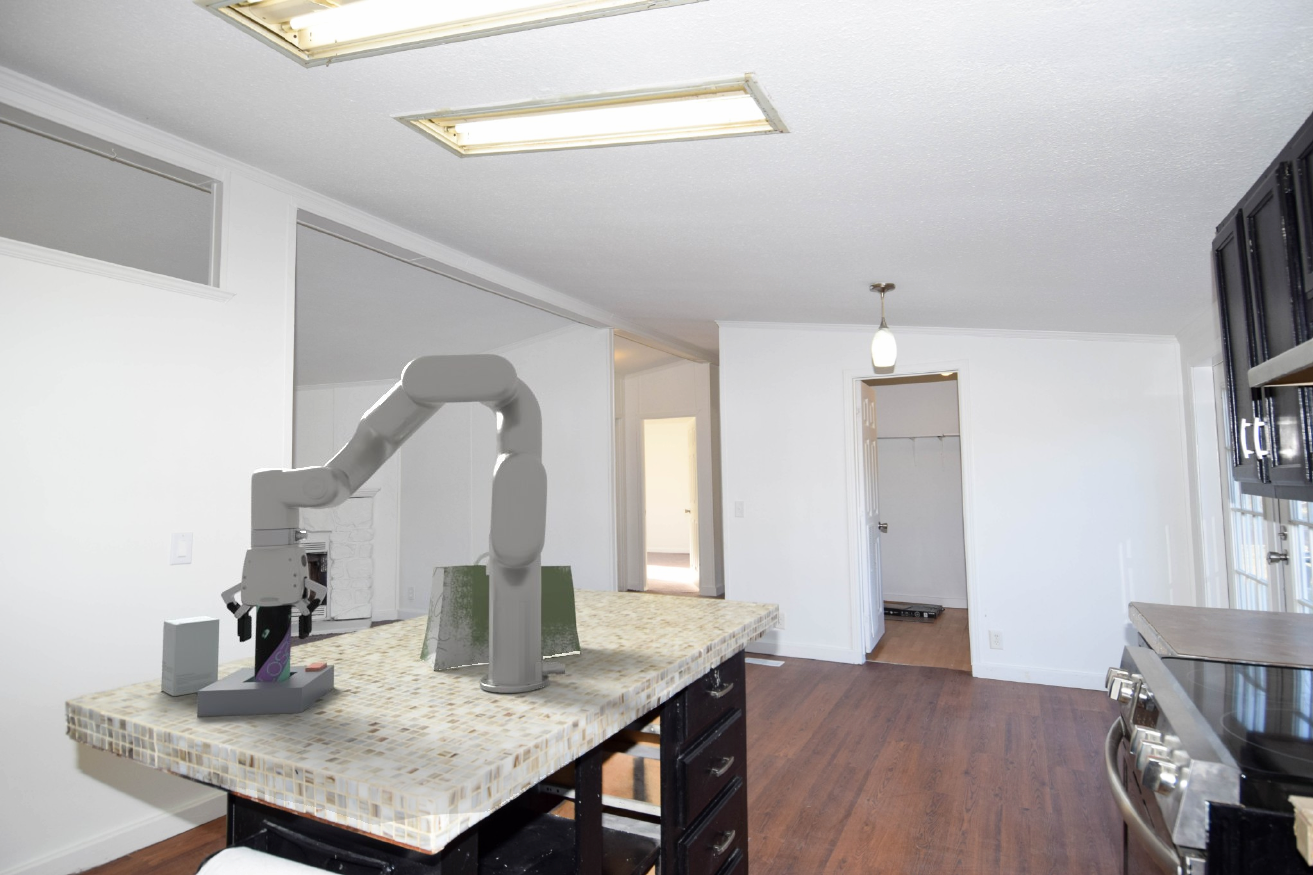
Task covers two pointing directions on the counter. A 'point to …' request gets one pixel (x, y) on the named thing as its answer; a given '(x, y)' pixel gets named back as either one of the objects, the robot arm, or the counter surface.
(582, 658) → the counter surface
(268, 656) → the spray can
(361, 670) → the counter surface
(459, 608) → the grocery bag
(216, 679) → the supplement box
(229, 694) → the socket plate
